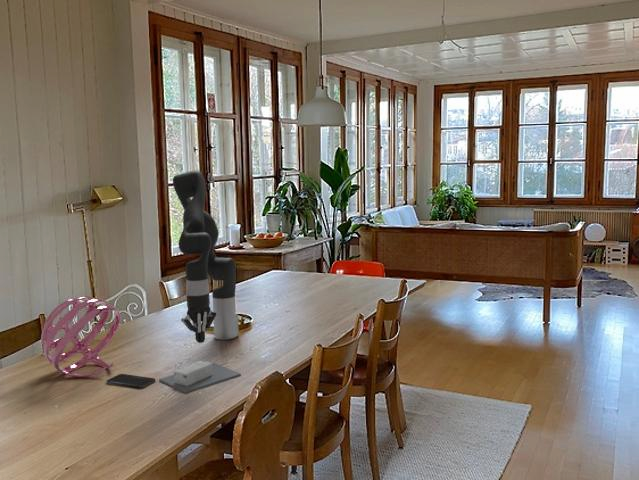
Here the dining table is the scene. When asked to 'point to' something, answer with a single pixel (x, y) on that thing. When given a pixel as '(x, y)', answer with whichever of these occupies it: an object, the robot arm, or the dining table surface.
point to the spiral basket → (72, 333)
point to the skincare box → (193, 373)
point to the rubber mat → (217, 376)
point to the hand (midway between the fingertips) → (200, 342)
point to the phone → (131, 381)
